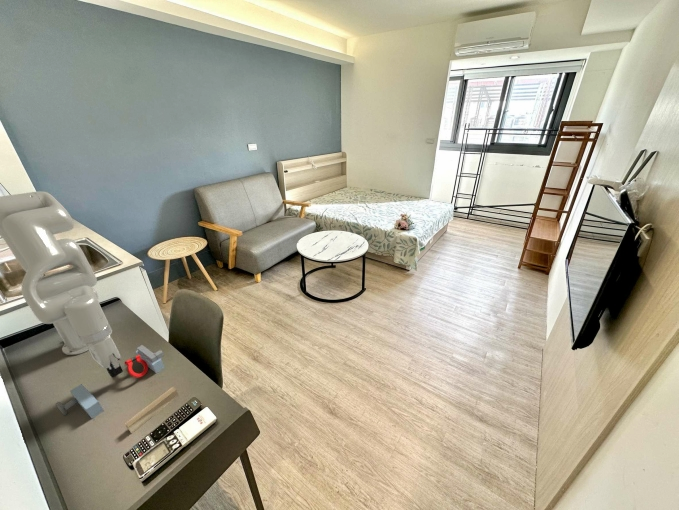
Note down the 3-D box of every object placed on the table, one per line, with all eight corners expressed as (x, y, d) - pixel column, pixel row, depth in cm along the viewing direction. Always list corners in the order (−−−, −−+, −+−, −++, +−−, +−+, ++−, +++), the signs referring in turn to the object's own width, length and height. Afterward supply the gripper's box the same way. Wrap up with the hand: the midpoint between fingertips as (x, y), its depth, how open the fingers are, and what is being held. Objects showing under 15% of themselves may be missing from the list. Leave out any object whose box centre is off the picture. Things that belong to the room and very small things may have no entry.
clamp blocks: (59, 410, 85) (50, 397, 82) (151, 352, 106) (146, 340, 103) (75, 430, 79) (66, 417, 76) (169, 365, 100) (164, 352, 98)
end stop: (128, 429, 79) (124, 423, 78) (174, 392, 90) (172, 386, 89) (131, 433, 79) (128, 427, 77) (178, 395, 89) (176, 389, 88)
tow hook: (135, 380, 92) (124, 361, 92) (114, 394, 93) (103, 375, 93) (152, 370, 98) (141, 353, 98) (132, 383, 100) (121, 366, 100)
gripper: (70, 331, 85) (93, 372, 93) (91, 349, 78) (114, 392, 86) (99, 317, 91) (118, 357, 99) (120, 333, 84) (140, 375, 92)
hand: (116, 373), depth 93 cm, fingers closed
